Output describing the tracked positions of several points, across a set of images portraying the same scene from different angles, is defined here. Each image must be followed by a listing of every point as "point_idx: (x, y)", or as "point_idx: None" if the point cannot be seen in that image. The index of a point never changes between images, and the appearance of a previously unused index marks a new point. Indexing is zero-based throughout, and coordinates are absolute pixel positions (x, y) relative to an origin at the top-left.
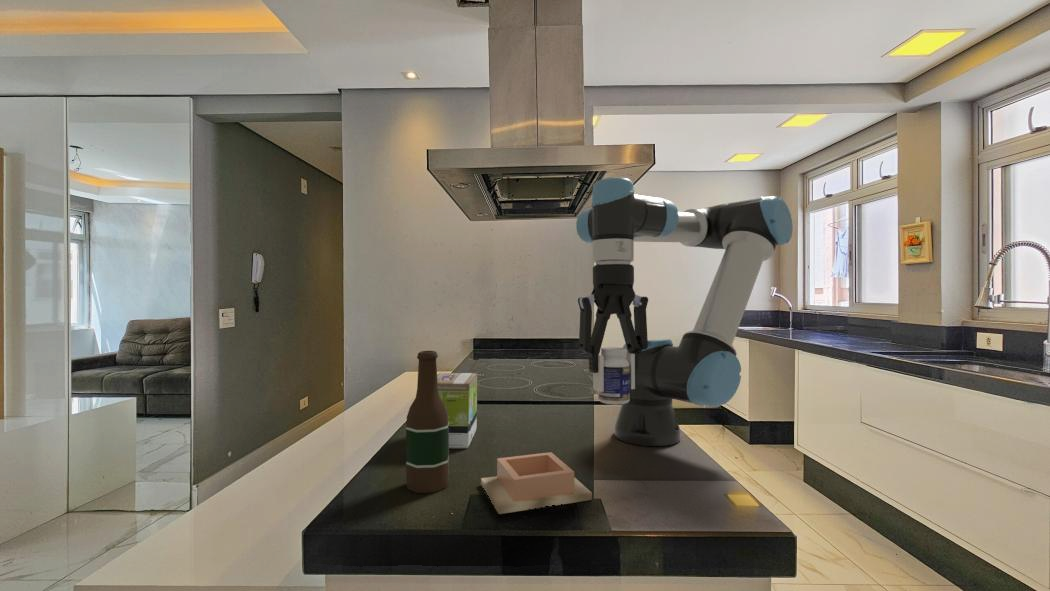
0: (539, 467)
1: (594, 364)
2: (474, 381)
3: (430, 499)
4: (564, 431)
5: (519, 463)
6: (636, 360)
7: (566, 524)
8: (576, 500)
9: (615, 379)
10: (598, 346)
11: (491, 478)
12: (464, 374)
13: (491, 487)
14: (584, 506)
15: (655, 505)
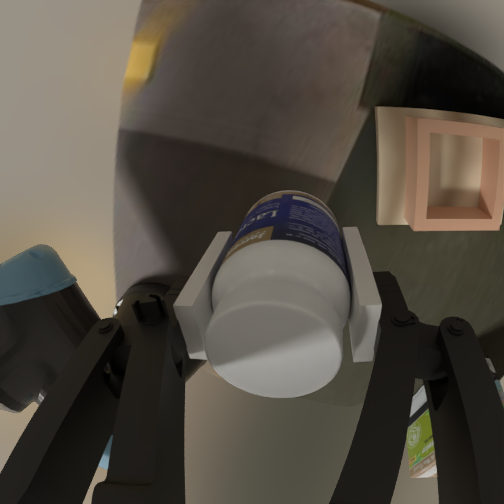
0: (433, 210)
1: (390, 293)
2: (431, 456)
3: None
4: None
5: (468, 215)
6: (171, 298)
7: (436, 51)
8: (402, 107)
9: (307, 222)
10: (396, 342)
11: None
12: (436, 469)
13: None
14: (394, 89)
15: (279, 58)
